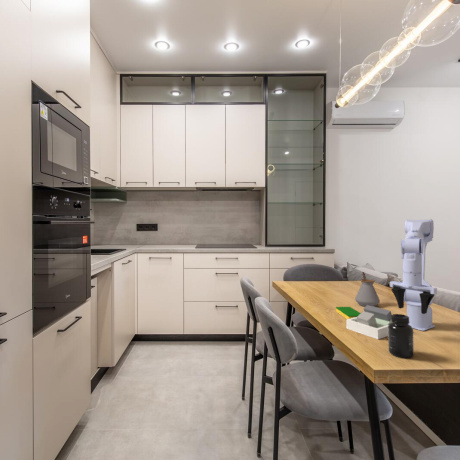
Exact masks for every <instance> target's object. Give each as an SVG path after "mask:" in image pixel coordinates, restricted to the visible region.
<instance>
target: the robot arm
mask: <svg viewBox="0 0 460 460" xmlns="http://www.w3.org/2000/svg"><path fill="white" fill-rule="evenodd" d="M434 226H435V225H434V220H433V219H432V218H430V219H406V220H405V221H404V232H405V237H404V239H401V240H400V241H401V242H400V252H401V259H402V281H395V280H392V281H390V282H389V286H390V287H391V291H392V294H393V295H394V297H395V301H396V302H397V306H398V309H404V307H405V304H406V316H408V317H409V325H410V326H411V327H412V328H413V330H414V329H415V330H418V331H422V332H423V331H427V330H430V329H432V328H435V327H436V325H435V324H433V309H432V307H431V306H432V305H433V298H434V297H435V295H436V294H437V292H438V291H437V287H433V286H432V284H431V283H429V282H428V281H426V280H425V273H426V272H425V271H426V249H427V244H428V243H430V242H432V241H433V238H434V231H435V230H434V228H435V227H434Z"/></svg>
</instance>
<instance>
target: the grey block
mask: <svg viewBox="0 0 460 460" xmlns="http://www.w3.org/2000/svg"><path fill="white" fill-rule="evenodd" d="M360 313H361V314H360V315H359V316H358V317H357V321H358V323H362V324H365V325H368V326H371V327H374V328H375V327H376V326H377V323H376V319H375V315H374V314H372V313H368V312H364V310H363V311H362V312H360Z"/></svg>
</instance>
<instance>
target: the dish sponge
mask: <svg viewBox="0 0 460 460" xmlns="http://www.w3.org/2000/svg"><path fill="white" fill-rule="evenodd" d="M335 312H336V313H338V314H339V315H340V316H342V317H343V318H345V319H346V320H347V319H351V318H355V317H358V316H359V315H360V314H361V313H362V312H359V311H358V310H357V309H355V308H353V307H351V306H336V307H335Z"/></svg>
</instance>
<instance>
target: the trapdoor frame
mask: <svg viewBox="0 0 460 460" xmlns="http://www.w3.org/2000/svg"><path fill="white" fill-rule="evenodd" d="M345 321H346V329H347V330H350V331H353V332H355V333H359V334H362V335H364V336H367V337H370V338H373V339H376V340H381V339H383V338H386V337H387V338H388V325H386V326H383V327H380V328H374V327H371V326H368V325H365V324H362V323H358V321H357V317H355V318H351V319H346V320H345ZM391 323H392V322H391Z"/></svg>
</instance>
